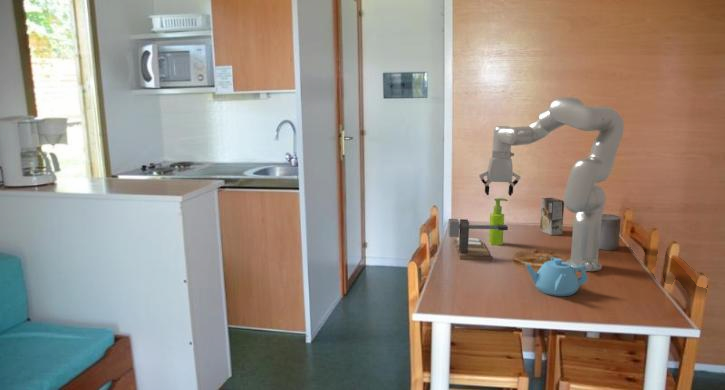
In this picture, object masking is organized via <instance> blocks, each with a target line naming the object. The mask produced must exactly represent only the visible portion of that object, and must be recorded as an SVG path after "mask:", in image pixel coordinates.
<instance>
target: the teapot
mask: <svg viewBox="0 0 725 390" xmlns="http://www.w3.org/2000/svg"><path fill="white" fill-rule="evenodd" d="M525 266H526V268H527V271H528V273H529V275H530V277H531V280H532V281H533V283H534V285H535V286H536V288H537V289H538V290H539V292H541V293H543V294H546V295H549V296H556V297H567V296H568V297H570V296H572V295H574V294H575V293H576V292H577V291H579V288H580V287H581V286H582V285H584V284H585V283H587V282H588V281H589V278H588V277H589V276H588V274H587V271H586V270H585V267H584V265H582V266H571V265H570V264H569V263H566V261H563V259H562V258H557V257H553V256H552V257H551V260H547V261H545V262H544V263H543V264H542V265H541V266H540V268H539V269H538V271H537V272H535V270H534V268H533V267H532V265H531V263H529V264H526V263H525ZM578 271H579V272H580V274H581V276H580V277H579V278H578V275H577V273H576V272H578Z"/></svg>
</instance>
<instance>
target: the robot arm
mask: <svg viewBox="0 0 725 390" xmlns="http://www.w3.org/2000/svg"><path fill="white" fill-rule="evenodd" d="M537 117H538V120H536V121H535V122H533V123H531V124H529V125H526V126H513V127H511V126H508V125H497V126H495V127H494V128H493V136H492V137H493V138H492V139H493V140H492V153H491V155H492V156H491V157H490V158H489V161H488V164H487V165H488V166H487V171H485V172H483V173H481V174H479V179H480V181H481V182H482V183H483V185H484V193H485V194H486V196H489V195H490V184H491V183H508V184H509V186H508V195H509V196H510V197H511V196H512V195H513V193H514V187H515V186H516V185H517V184H518V183H519V181H520V180H521V176H520V175H519V174H517V173H515V172H513V160H512V158H511V157H514V156H515V153H514V152H512V150H511V149H512V146H522V145H523V146H524V145H525V146H526V145H531V144H533V143H535V142H537V141H540V140H542V139H544V138H545V137H547V136H548V135H549V134H551V132H553V131H555V130H557V129H559V128H561V127H564V126H565V125H567V126H568V127H569V126H570V127H571V128H574V129H577V130H579V131H584V132H595V131H598V134H597V136H596V138H595V139H594V141H593V143H592V146H591V150H590V152H589V156H588V157H584V158H581V159H579V160H577V161H576V162H575V163H574V164H573V165H572V168H571V170H570V173H569V176H568V180H567V182H566V186H565V189H564V193H563V201H564V208H566V209H567V211H569V212H571V213H573V214H574V217H573V223H572V224H573V226H572V238H571V249H570V258H569V259H567V260H566V261H565V262H566V263H569V264H570V265H571V266H582V265H584V267H585V270H586V272H596V271H601V270H602V266H603V265H602V264H601V263H600V262H598V261H599V250H600V249H599V240H600V229H601V220H602V214H604V213H603V212H604V209H605V205H606V193H605V190H604V189H603V188H602V187H601V186H600V185H597V184H599V183H602V182H605V181H606V180H608V179H609V177H610V175H611V173H612V170H613V166H614V163H615V160H616V158H617V154H618V150H619V147H620V145H621V142H622V139H623V135H624V131H625V125H624V124H625V123H624V120H623V118H622V116H621V114H619V112H618V111H616V110H615V109H613V107H612V108H611V107H608V106H588V105H585V103H584V102H583V101H582V100H581V99H579V98H578V97H573V96H571V97H569V96H567V97H566V96H565V97H564V96H562V97H557V98H556V99H554V100H553V101H551V102H550V104H549V106H548V108H547V109H544V110H543V111H541V112H540V113H539V114H538V116H537ZM484 177H486V178H487V180H485V179H484ZM513 177H515V179H514V181H513Z"/></svg>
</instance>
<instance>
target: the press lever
mask: <svg viewBox="0 0 725 390" xmlns="http://www.w3.org/2000/svg"><path fill="white" fill-rule="evenodd" d="M447 221H448V224H447V234H448V236H449V237H450V238H459V237H460V229H461V225H460V220H459V219H458V218H448V219H447ZM490 229H498V230H503V231H509V230H508V229H509V226H508V225H507V224H504V225H490V224H469V230H490Z"/></svg>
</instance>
